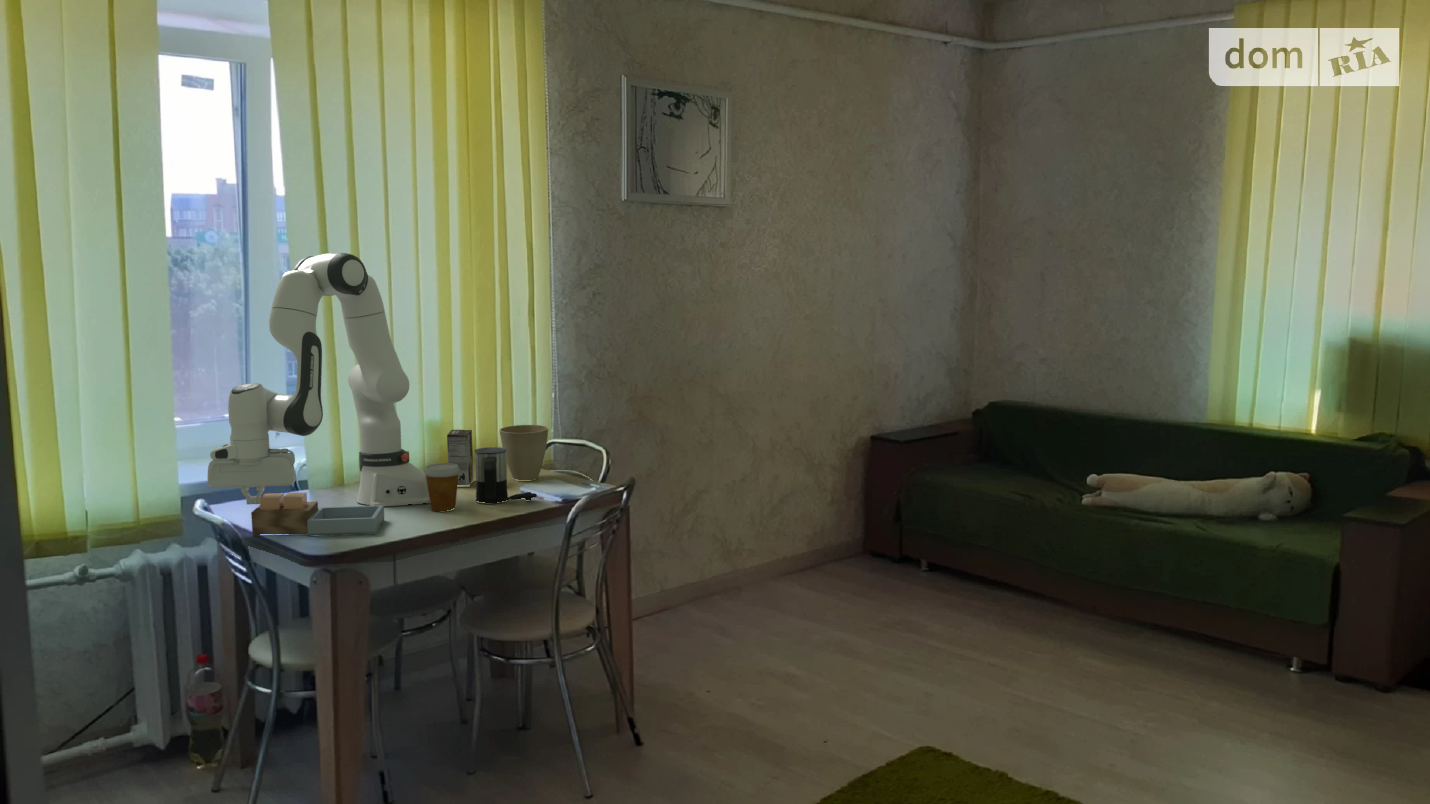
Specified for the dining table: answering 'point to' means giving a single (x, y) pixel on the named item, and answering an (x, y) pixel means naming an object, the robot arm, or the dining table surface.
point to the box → (346, 520)
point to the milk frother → (493, 476)
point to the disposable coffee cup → (442, 485)
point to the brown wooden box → (282, 520)
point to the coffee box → (461, 454)
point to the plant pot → (524, 449)
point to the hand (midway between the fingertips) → (253, 503)
